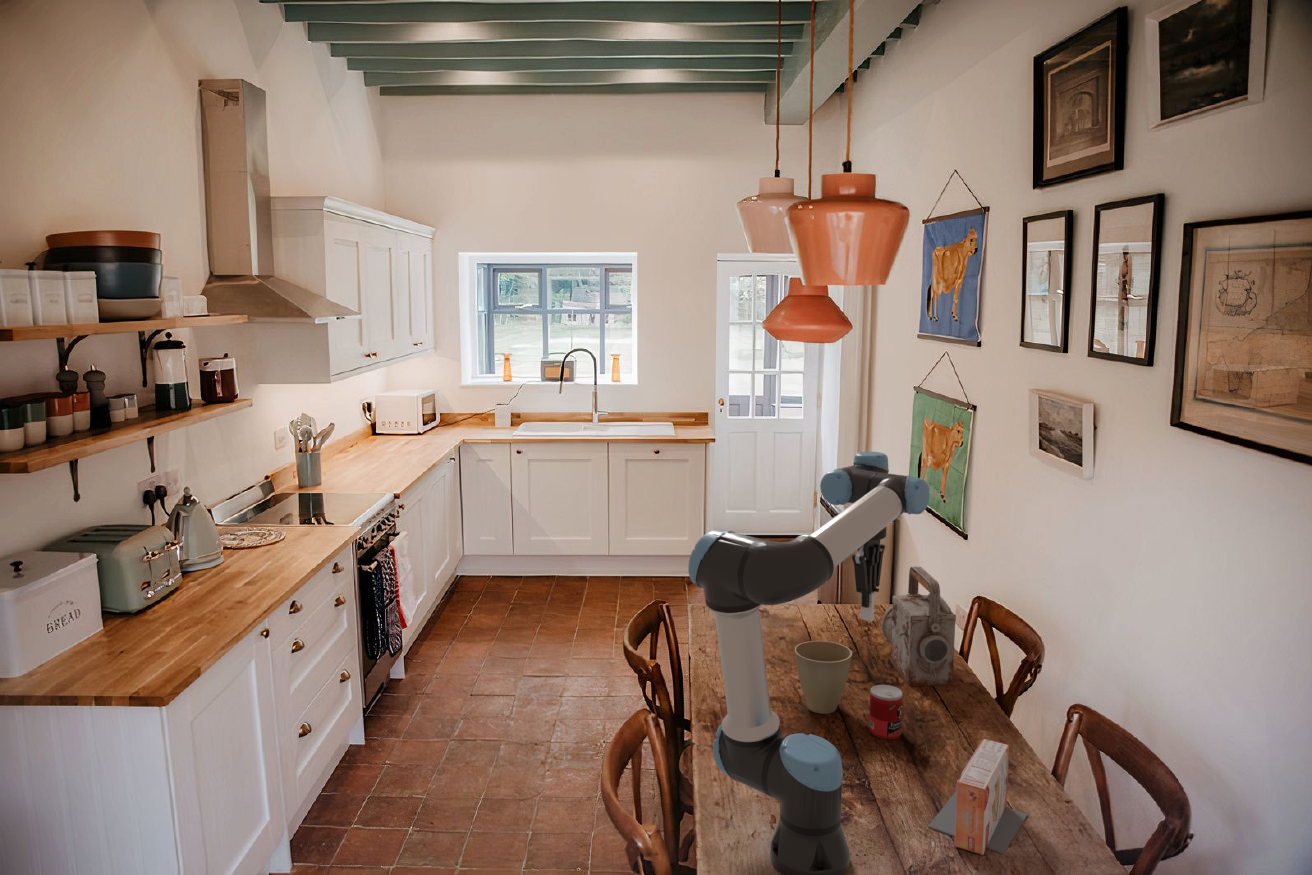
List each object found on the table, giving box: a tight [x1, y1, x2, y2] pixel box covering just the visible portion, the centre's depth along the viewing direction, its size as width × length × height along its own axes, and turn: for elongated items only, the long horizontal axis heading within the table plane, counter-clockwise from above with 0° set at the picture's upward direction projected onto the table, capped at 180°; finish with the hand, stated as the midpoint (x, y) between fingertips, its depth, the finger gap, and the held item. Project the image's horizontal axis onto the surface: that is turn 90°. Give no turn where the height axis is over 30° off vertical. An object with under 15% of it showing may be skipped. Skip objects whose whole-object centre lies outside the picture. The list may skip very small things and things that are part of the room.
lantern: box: [880, 566, 957, 687], centre depth 255 cm, size 16×27×30 cm, turn 2°
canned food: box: [869, 684, 904, 740], centre depth 219 cm, size 8×8×11 cm
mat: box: [928, 791, 1028, 855], centre depth 182 cm, size 16×15×1 cm
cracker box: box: [953, 738, 1011, 855], centre depth 179 cm, size 14×6×21 cm
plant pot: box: [794, 640, 853, 715], centre depth 233 cm, size 15×15×16 cm
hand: (867, 619), depth 203 cm, fingers closed
